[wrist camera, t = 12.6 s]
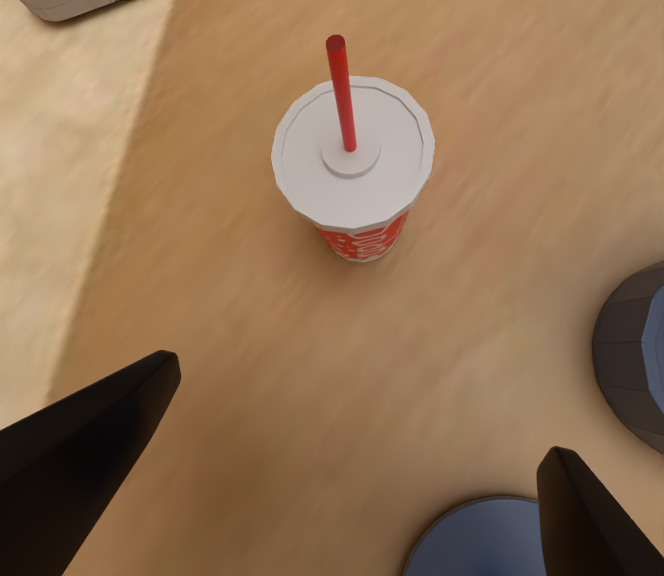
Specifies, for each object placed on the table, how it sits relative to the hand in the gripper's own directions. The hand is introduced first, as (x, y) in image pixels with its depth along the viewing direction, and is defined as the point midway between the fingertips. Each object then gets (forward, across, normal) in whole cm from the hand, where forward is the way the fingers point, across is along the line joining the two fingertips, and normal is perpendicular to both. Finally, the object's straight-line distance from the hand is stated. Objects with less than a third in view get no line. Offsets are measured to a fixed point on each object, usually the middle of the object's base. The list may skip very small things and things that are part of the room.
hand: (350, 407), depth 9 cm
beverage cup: (+15, +2, +2) cm, 16 cm away
